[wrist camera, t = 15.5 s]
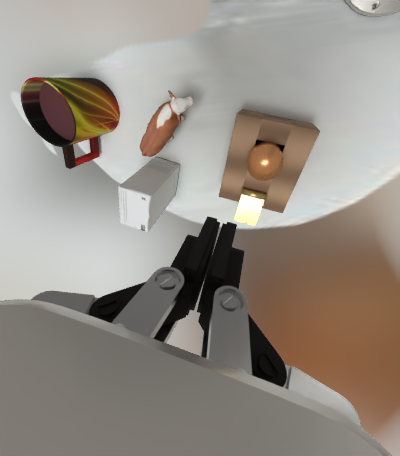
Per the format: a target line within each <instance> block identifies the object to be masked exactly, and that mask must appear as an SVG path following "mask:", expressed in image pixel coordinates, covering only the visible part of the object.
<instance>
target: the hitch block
mask: <svg viewBox="0 0 400 456" xmlns="http://www.w3.org/2000/svg"><path fill="white" fill-rule="evenodd" d="M319 132H320V131H319V130H318V128H317V127H316V126H315V125H314V124H310V123H305V122H300V121H295V120H290V119H285V118H280V117H275V116H270V115H266V114H261V113H256V112H251V111H246V110H241V111H240V112H239V113H238V114H237V117H236V121H235V126H234V130H233V135H232V139H231V144H230V148H229V153H228V157H227V162H226V166H225V171H224V175H223V180H222V184H221V189H220V193H219V197H223V198H226V199H230V200H234V201H238V202H240V198H241V195H240V194H241V191H242V188H244V189H248V190H252V191H256V192H259V193H263V194H267V198H266V201H264V203H263V206H262V208H265V209H268V210H272V211H276V212H280V213H283V211H284V209H285V207H286V204H287V202H288V200H289V198H290V196H291V193H292V191H293V189H294V187H295V185H296V183H297V180H298V178H299V176H300V174H301V172H302V169H303V167H304V165H305V163H306V161H307V159H308V156H309V154H310V152H311V150H312V148H313V145H314V143H315V141H316V139H317V137H318V135H319ZM257 139H258V140H263V141H269V142H273V143H276V144H281V145H280V149H281V151H282V155H283V167H282V170H281V172H280V173H279V174H278V175H277V176H276V177H275V178H273V179H271V180H268V181H259V180H256V179H255V178H253V177H252V176H251V175H250V174H249V172H248V169H247V160H248V157H249V154H250V151H251V150H252V148H253V147H254V146H255V143H256V140H257Z"/></svg>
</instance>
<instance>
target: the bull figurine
mask: <svg viewBox="0 0 400 456" xmlns="http://www.w3.org/2000/svg"><path fill="white" fill-rule="evenodd" d="M168 92H169V94H170V97H171V98H172V100H171V101H169V102H167V103H164V104H163V105H161V106H160V107H159V109H158V110H157V112H156V113H155V114H154V115H153V117H152V119H151V120H150V122H149V124H148V127H147V130H146V133H145V134H144V136H143V138H142V141H141V144H140V149H141V151H142V155H143V156H149V157H151V156H154V155H156V154H157V153H158V152H160V150H162V148H163V146H164V145H165V144H166V143H167V142H170V141H171V140H172V139H173V132H174V131H175V129H176V127H177V126H178V124H179V123H181V122H182V121H184V120H185V116H184V115H182V116H181V113H182V112H184V111H185V110H187V108H188V107H191V106H192V105H193V103H194V102H193V98H192V97H191V96H189V97H186V98H179V97H178V98H175V97H174V95H173V94H172V93H171V92H170V91H169V90H168Z"/></svg>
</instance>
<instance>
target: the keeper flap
mask: <svg viewBox="0 0 400 456" xmlns="http://www.w3.org/2000/svg"><path fill="white" fill-rule="evenodd" d="M240 195H241V198H240V202H239V205H238V209H237V212H236V215H235V219H234V220H235V221H239V222H243V223H246V224H250V225H254V226H255V225H256V222H257V220H258V217H259V214H260V211H261V209H262V206H263V203H264V201H266V198H267V194H263V193H259V192H256V191H252V190H248V189H244V188H242V191H241V194H240Z"/></svg>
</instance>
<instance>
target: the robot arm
mask: <svg viewBox="0 0 400 456" xmlns="http://www.w3.org/2000/svg"><path fill="white" fill-rule="evenodd" d="M345 1H346V3H347V4H348V5H349V6H350V7H351V8H352V9H353V10H354V11H356V12H358V13H360V14H362V15H367V16H372V17H373V16H385V15H388V14H392V13H396V12H398V11H400V0H345ZM373 4H375V5H376V8H375V9H374V10H373V9H372V6H373ZM219 225H220V222H217V219H215V218H212V217H207V219H206V221H205V223H204V225H203V227H202V230H201V232H200V234H199V236H198V237H195V236H191V235H188V236H187V237H186V239H185V241H184V243H183V244H182V246H181V248H180V250H179V252H178V254H177V256H176V257H175V260H174V261H173V263H172V265H171V267H163V268H160V269H158V270H157V271H156V272H154V274H153V275H152V276H151V277H150V278H149V279H148V281H147V282H144V283H141V284H138V285H135V286H132V287H129V288H126V289H123V290H120V291H117V292H114V293H111V294H108V295H105V296H102V297H101V298H95V296H94V295H87V294H77V293H68V292H59V291H46V292H43V293H40V294H38V295H36V296H35V297H33V299H31V300H5V301H0V456H392V455H391V454H390V453H389V452H388V451H387V450H386V449H385V448H384V447H383V446H382V445H381V444H380V443H379V442H377V441H376V440H375V439H374V438H373V437H372V436H371V435H369V434H368V433H367V432H366V431H365V430H363V429H362V428H361V423H360V419H359V416H358V415H357V412H356V410H355V409H354V407H353V406H352V405H351V404H350V403H349V401H348V400H346V399H345V398H344V397H343V396H341V395H340V394H338V393H336V392H335V391H333V390H331V389H330V388H328V387H327V386H325V385H323V384H321V383H320V382H318V381H316V380H315V379H313V378H312V377H310V376H308V375H307V374H305V373H303V372H302V371H300V370H299V369H297V368H295V367H294V366H291V367H289V366H287V365H286V364H284V362H283V360H282V359H281V357H280V356H279V354H278V353H277V352H276V350H275V349H274V348H273V346H272V345H271V344H270V342H269V341H268V340H267V338H266V337H265V336H264V334H263V333H262V332H261V330H260V329H259V328H258V327H257V325H256V323H255V322H254V321H253V320H252V318H251V317H250V315H249V314H248V307H247V306H248V305H247V299H246V297H245V295H244V294H243V293H242V292H241V291H240V290H239V283H240V276H241V270H242V263H243V256H244V251H243V250H239V249H235V248H232V243H233V239H234V235H235V230H236V226H237V224H233V223H230V222H227V224H224V223H223V225H222V228H221V231H220V234H219V237H218V240H217V243H216V246H215V249H214V245H215V241H216V237H217V233H218V229H219ZM213 249H214V252H213ZM212 253H213V255H212ZM211 257H212V258H211ZM205 276H206V277H205ZM204 279H205V281H204ZM203 282H204V285H203ZM202 285H203V289H202V293H201V297H200V301H199V305H198V309H197V312H200V313H201V314H200V317H199V321H198V322H199V323H200V325H201V327H202V329H203V333H202V342H201V352H200V356H199V355H196V354H193V353H190V352H188V351H185V350H182V349H180V348H177V347H174V346H172V345H169V344H166V342H167V341H168V339H169V337H170V335H171V334H172V332H173V330H174V328H175V327H176V325H177V322H178V320H180V319H182V318H184V317H186V315H188V314H189V310H194V308H195V306H196V303H197V300H198V296H199V293H200V291H201V287H202Z"/></svg>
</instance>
